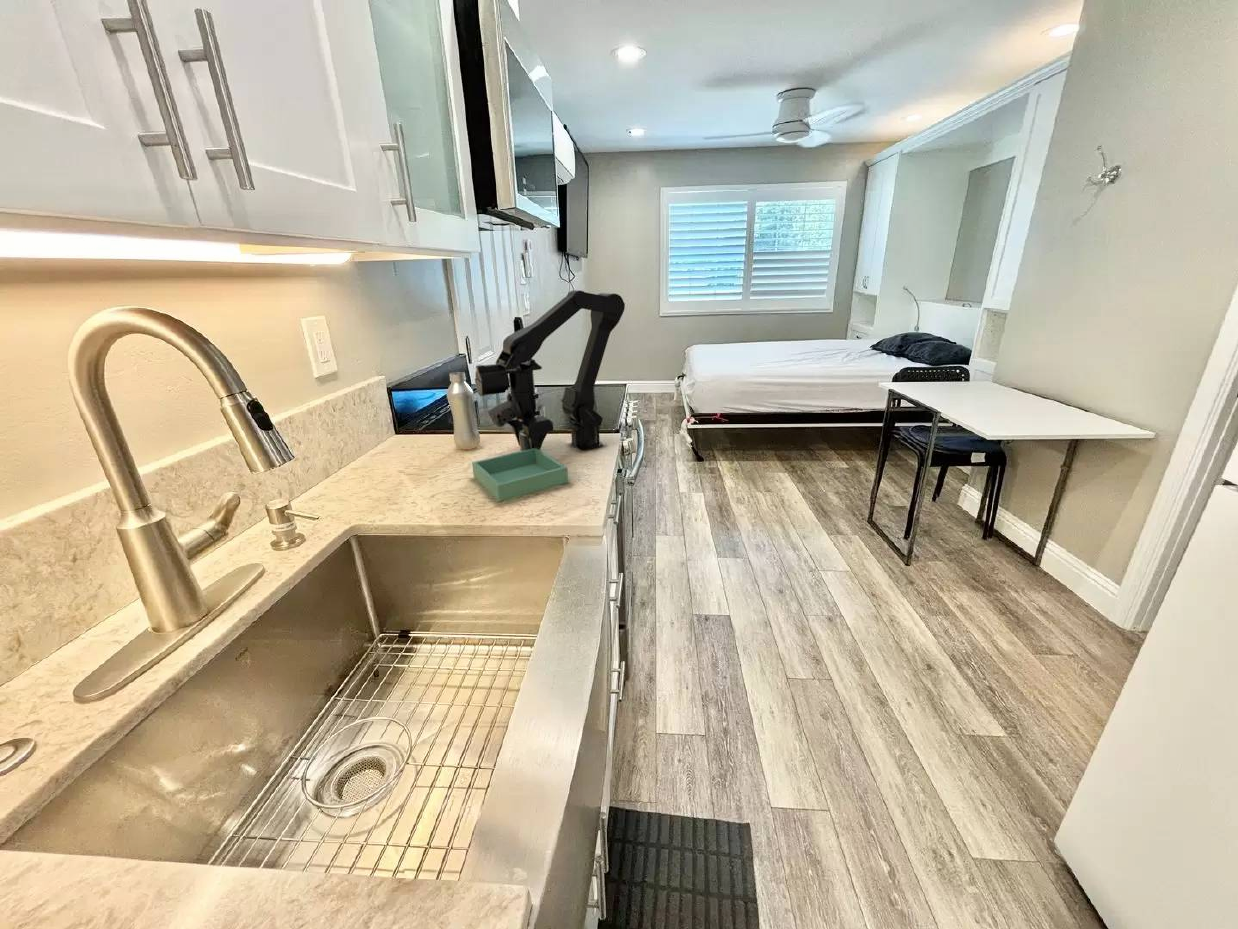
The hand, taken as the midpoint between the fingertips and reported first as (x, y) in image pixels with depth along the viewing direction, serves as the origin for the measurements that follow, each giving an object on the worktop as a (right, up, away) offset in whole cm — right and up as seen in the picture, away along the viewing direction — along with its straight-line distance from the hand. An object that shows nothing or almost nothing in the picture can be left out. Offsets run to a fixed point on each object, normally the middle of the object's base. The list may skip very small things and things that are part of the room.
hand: (528, 451), depth 122 cm
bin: (+1, -7, -14) cm, 16 cm away
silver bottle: (-18, +1, +9) cm, 20 cm away
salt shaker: (0, -2, 0) cm, 2 cm away
